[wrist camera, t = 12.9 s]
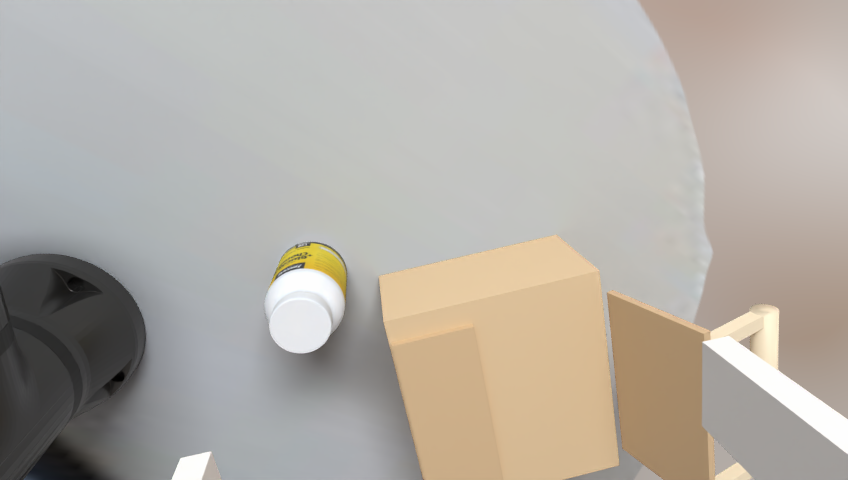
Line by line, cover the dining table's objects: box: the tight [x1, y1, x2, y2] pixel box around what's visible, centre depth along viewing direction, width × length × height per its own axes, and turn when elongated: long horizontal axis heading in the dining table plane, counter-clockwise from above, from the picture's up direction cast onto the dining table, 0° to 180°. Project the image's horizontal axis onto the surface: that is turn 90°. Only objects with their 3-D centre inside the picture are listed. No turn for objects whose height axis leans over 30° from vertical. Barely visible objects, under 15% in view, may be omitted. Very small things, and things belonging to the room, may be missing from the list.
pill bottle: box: [264, 241, 347, 354], centre depth 46 cm, size 6×6×12 cm
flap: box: [607, 290, 779, 480], centre depth 44 cm, size 10×16×8 cm
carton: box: [379, 235, 619, 480], centre depth 51 cm, size 18×20×11 cm
